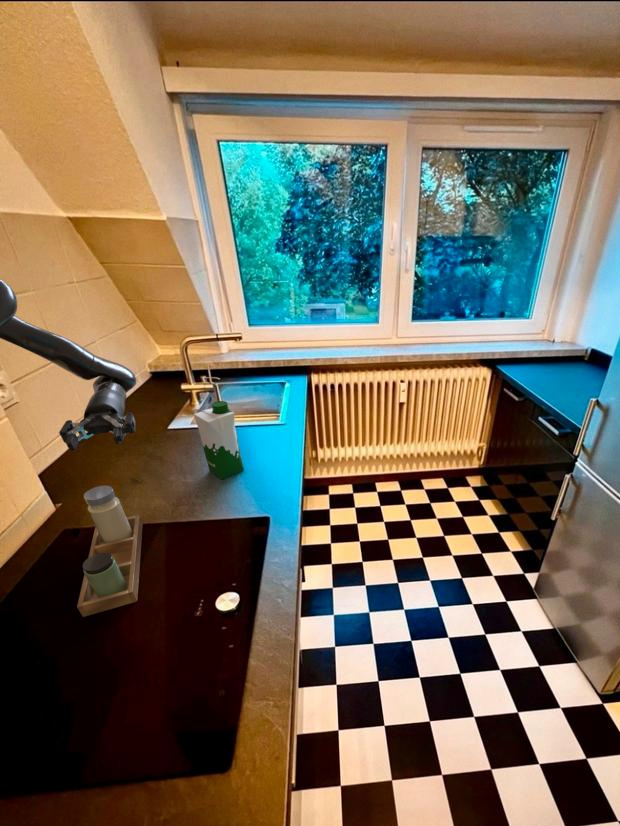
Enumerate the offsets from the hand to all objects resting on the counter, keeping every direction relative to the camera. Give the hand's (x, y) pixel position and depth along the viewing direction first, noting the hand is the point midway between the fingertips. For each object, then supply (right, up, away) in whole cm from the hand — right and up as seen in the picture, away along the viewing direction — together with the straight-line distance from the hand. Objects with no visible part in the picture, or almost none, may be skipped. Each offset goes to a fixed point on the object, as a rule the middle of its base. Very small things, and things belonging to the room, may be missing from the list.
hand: (94, 443), depth 83 cm
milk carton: (+18, -5, +30) cm, 35 cm away
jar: (+3, -21, +4) cm, 22 cm away
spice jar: (+10, -29, -8) cm, 32 cm away
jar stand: (+6, -26, -2) cm, 27 cm away
